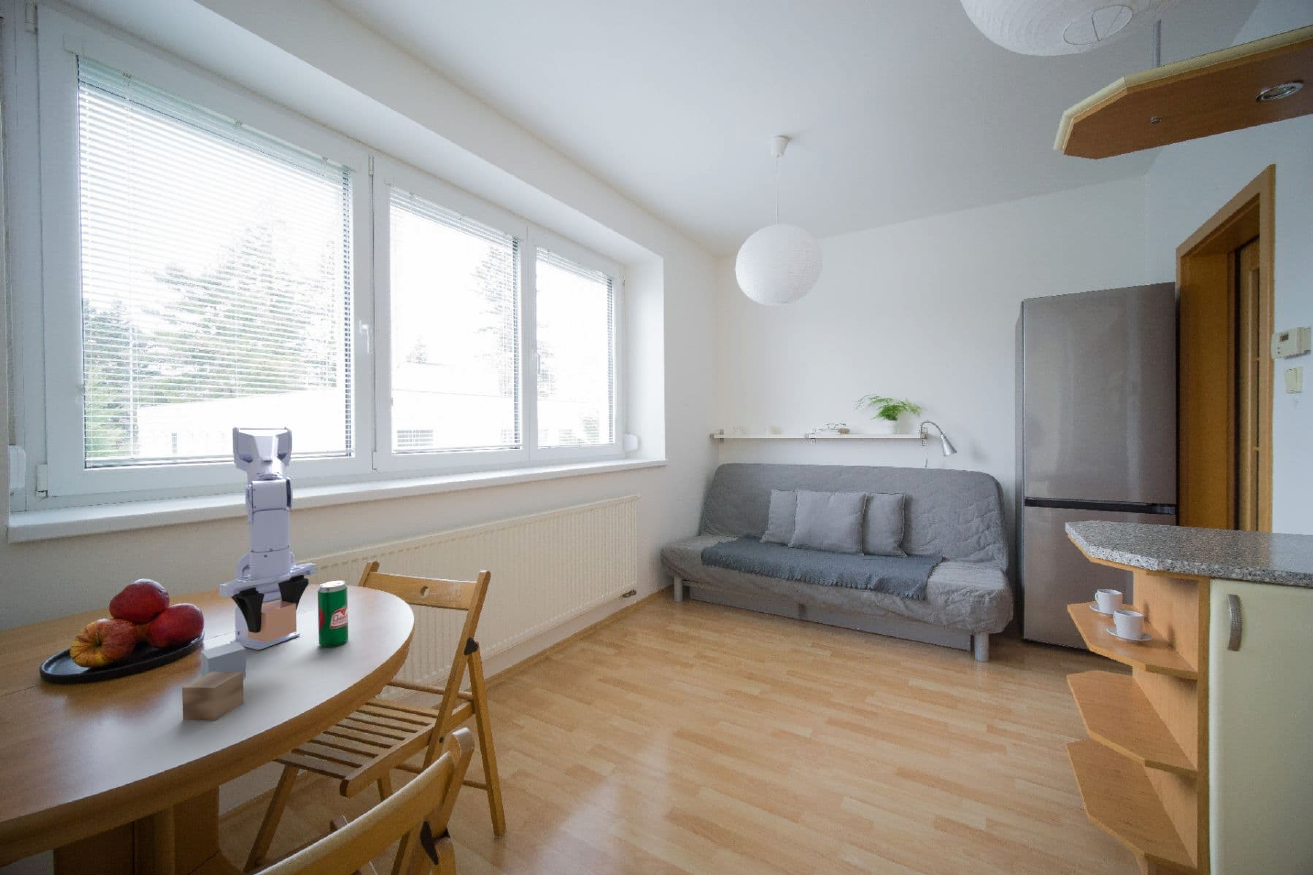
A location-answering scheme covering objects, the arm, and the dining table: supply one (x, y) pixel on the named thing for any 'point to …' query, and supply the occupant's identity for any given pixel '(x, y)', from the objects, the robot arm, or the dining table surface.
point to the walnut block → (212, 696)
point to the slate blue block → (224, 659)
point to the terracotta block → (276, 621)
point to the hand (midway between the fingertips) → (272, 625)
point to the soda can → (332, 614)
